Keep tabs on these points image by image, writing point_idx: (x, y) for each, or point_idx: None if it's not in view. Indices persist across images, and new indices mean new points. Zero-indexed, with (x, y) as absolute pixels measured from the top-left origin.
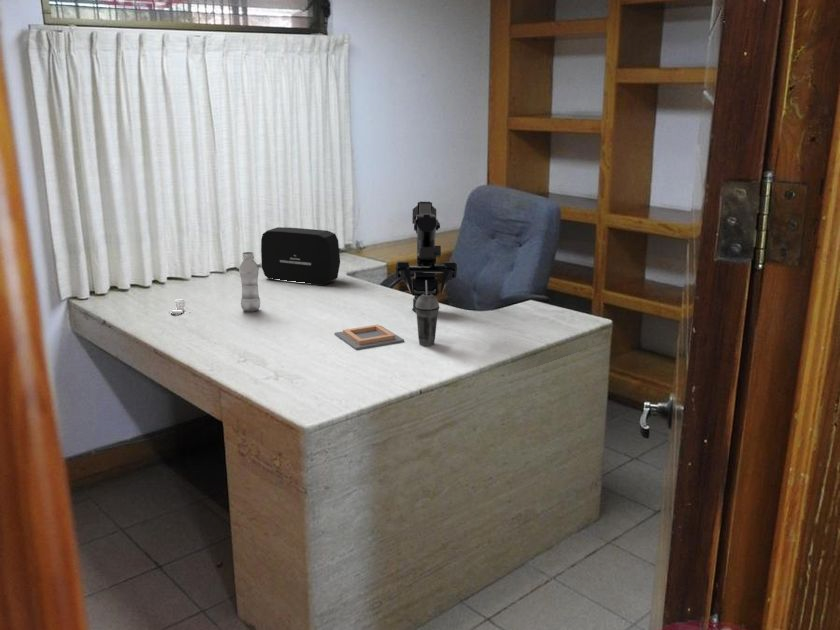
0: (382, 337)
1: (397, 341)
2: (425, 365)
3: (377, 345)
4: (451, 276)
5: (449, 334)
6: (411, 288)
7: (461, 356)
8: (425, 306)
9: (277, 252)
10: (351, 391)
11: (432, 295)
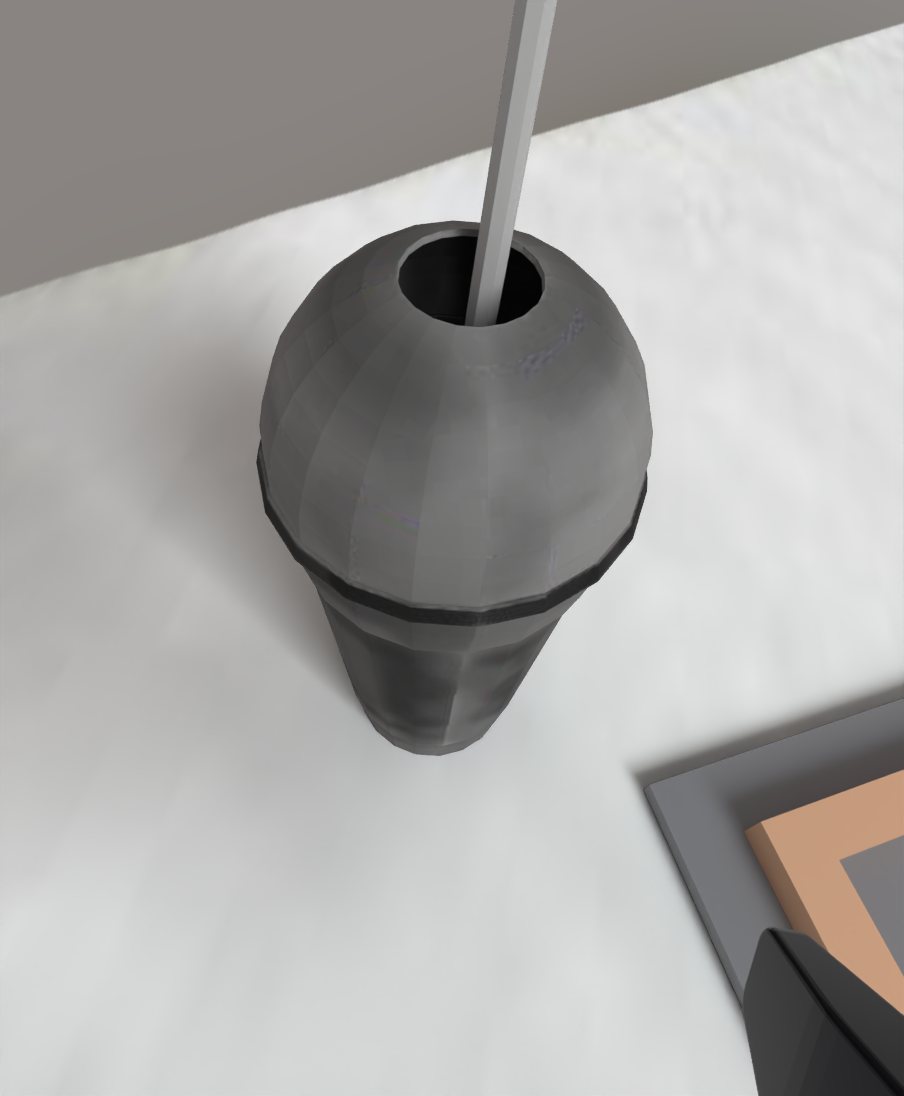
0: (891, 774)
1: (716, 763)
2: None
3: (896, 701)
4: None
5: (83, 969)
6: (837, 1001)
7: (240, 388)
8: (514, 292)
9: None
10: (900, 142)
11: (375, 253)
